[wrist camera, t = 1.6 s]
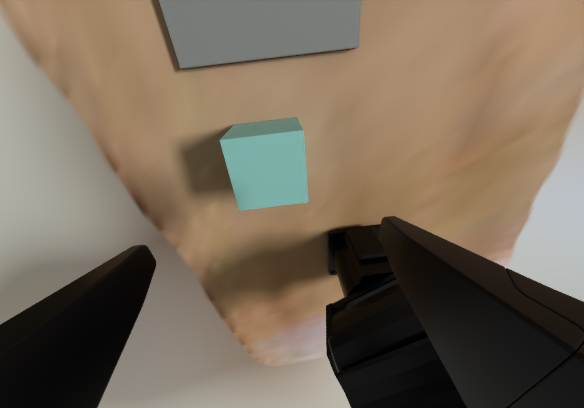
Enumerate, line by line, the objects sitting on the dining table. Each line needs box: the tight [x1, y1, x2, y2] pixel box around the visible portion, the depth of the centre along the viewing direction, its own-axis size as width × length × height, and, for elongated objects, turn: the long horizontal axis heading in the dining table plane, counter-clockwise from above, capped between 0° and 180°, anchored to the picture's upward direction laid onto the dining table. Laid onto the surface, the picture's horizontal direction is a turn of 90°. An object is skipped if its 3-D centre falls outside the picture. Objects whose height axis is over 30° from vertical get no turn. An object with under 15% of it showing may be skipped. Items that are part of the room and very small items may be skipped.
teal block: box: [220, 117, 308, 211], centre depth 16 cm, size 5×5×5 cm
